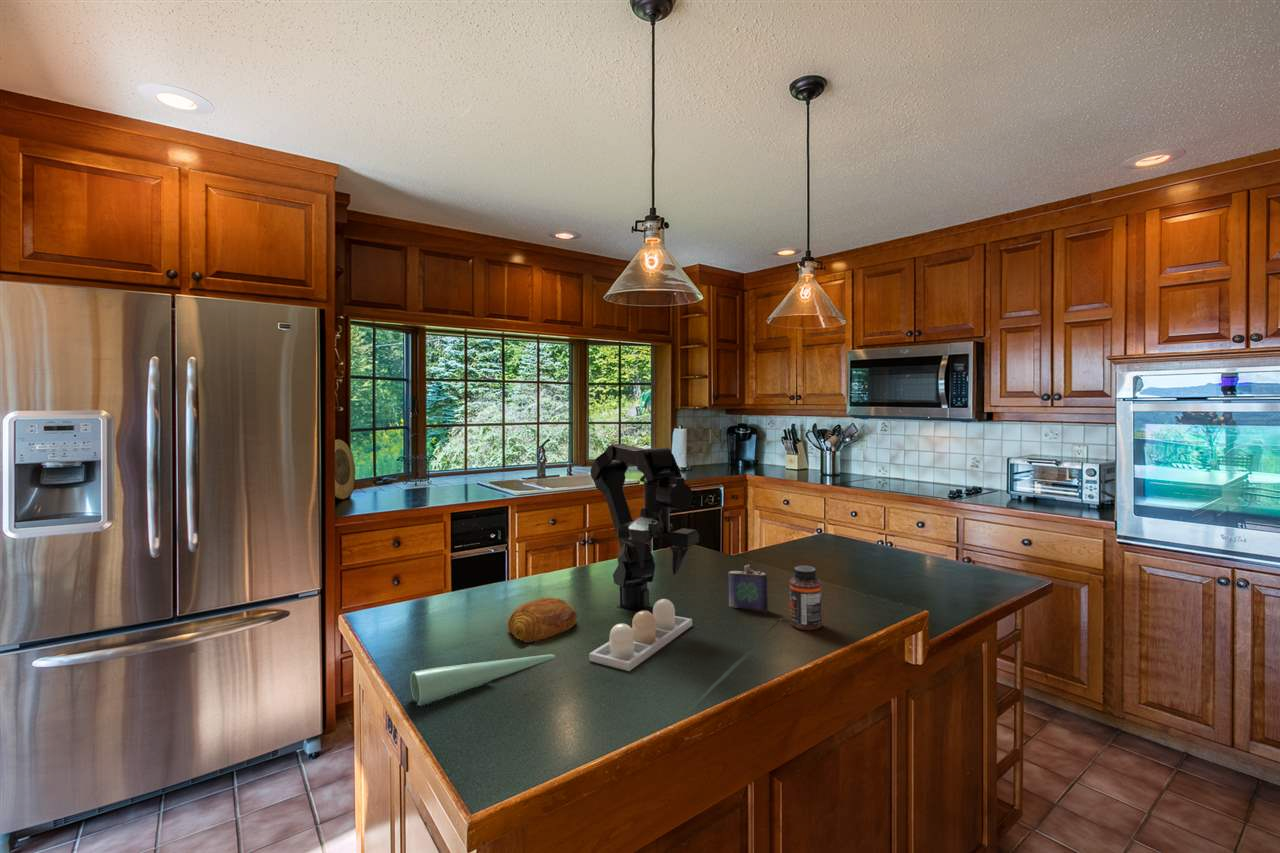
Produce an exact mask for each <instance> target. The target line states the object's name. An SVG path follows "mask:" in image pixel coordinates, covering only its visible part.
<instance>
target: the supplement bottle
mask: <svg viewBox="0 0 1280 853" xmlns="http://www.w3.org/2000/svg"><path fill="white" fill-rule="evenodd" d="M816 576H817V571H816V568H815V567H813V566H810V565H798V566H794V576H793V577H792V578H791V579H790V580H789V611H790V612H789V616H790V620H789V621H790V625H791V626H793V627H794V628H796V629H798V630H802V631H815V630H818V629H820V628H821V627H822V624H823V623H822V622H823V620H822V619H823V618H822V616H823V614H822V613H823V610H822V608H823V607H822V603H823V602H822V582H821V580H820V579H819V578H817V577H816Z"/></svg>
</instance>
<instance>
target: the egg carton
mask: <svg viewBox="0 0 1280 853" xmlns="http://www.w3.org/2000/svg"><path fill="white" fill-rule="evenodd" d="M692 626H693V618H689V617H683V616H677V615H675V628H674V629H673V630H671V631H669V630H664V629H659V628H656V642H654V643H653V644H651V645H648V644H644V643H639V642H635V641H634V654H635V656H634V657H633V658H631V659H630V660H628V661H626V660H622V659H618V658H614V657H610V641H607V642H606V643H604V644H602V645H601V646H599V647H598V648H596V649H594V650H592V651H591V652H590V653H589V654H588V657H589V660H588V661H589V662H592V663H596V664H600V665H603V666H607V667H612V668H615V669H619V670H623V671H627V672H631V670H633V669H634V668H636V667H637V666H639V665H640V664H641V663H643V662H645V660H647V659H648V658H650V657H651V656H652V655H654V654H656V653H657V652H658V651H659V650H660V649H662V648H663V647H665V646H666V645H667V644H669V643H670V642H671V641H673V640H675V639H676V638H677V637H679V636H680V635H681V634H683V633H684V632H685V631H686V630H688V629H690V628H692ZM631 628H632V630H633V627H631Z"/></svg>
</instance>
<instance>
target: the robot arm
mask: <svg viewBox="0 0 1280 853" xmlns="http://www.w3.org/2000/svg"><path fill="white" fill-rule="evenodd" d="M629 464H630V465H633V466H636V469H637V471H639V472H640V473H642V474H643V475H642V476H641V477H640V479H639V481H640V482H641V483H643V503H644V507H642V508H640V516H639V517H638V518H636V519H635V520H633V517H632V516H633V515H632V514H631V511H630V507H629V505H628V501H627V497H626V495H625V491H624V485H625V482H626V472H627V470H628V469H629ZM590 477H591V479H592V480H593V483H594V485H595V487H596V489H597V490H598V491H599V492H601V494H602V495H604V497H605V499H606V503H607V506H608V511H609V513H610V516H611V517H610V518H611V521H612V524H613V527H614V530H615V533H616V537H617V540H618V544H619V547H620V549H619V552H618V556H617V564H618V565H617V567H616V569H615V570H614V572H613V573H612V578H613V579H612V580H613V584H615V585H617V586H619V605H617V606H616V608H617V609H620V610H621V609H622V610H628V611H631V612H639V611H643V610H644V609H646V608H648V607H649V606H650V605H652V603H651V602H650V589H649V588H648V586H649V584H648V583H653V582H654V576H655V571H656V562H655V557H654V555H653V554H652V551H651V547H650V545H649V544H648V543H650V542H651V541H652V539H653V538H656V539H662V540H668V541H669V540H670V543H671V544H672V545H671V546H669V548H670V550H671V553H672V574H673V575H677V574H678V572H679V571H680V567H681V564H682V562H683V560H684V558H685V556H686V554H687V552H688V550H689V548H691V547H693V546H694V545H695V544H698V543H699V542H700V535H699V533H698V531H697V530H696V529H693V528H692V529H691V528H680V529H677V530H674V531H673V528H674V526H673V524H672V523H670V513H671V512H673V510H677V511H684V510H687V508H689V507H690V506H691V503H692V502H693V498H694V495H693V492H692V489H691V487H690V486H689V485H688V484H687V483H685V477H682V473H681V469H680V467H679V466H678V463H677V460H676V458H675V455H674V454H673V452H672V450H671V448H669V447H655V448H654V447H653V448H642V447H637V446H632V445H629V444H626V443H612V444H609V445H607V447H606V448H605V450H604V452H602V454H600V455H598V457H596V458H595V459H594V462H593V464H592V465H591V468H590Z"/></svg>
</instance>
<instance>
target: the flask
mask: <svg viewBox="0 0 1280 853" xmlns="http://www.w3.org/2000/svg"><path fill="white" fill-rule="evenodd" d="M750 566H751V564H747V565H746V564H745V565H744V566H743V569H744V571H742V570H740V571H739V570H731V571H728V574H727V575H728V607H730V608H737V609H738V608H739V609H743V610H750V611H755V612H760V611H767V612H768V609H769V608H768V607H769V606H768V603H769V602H768V601H769V600H768V576H767V574H766V573H765V572H761V571H760V570H753V569H752V568H750Z"/></svg>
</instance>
